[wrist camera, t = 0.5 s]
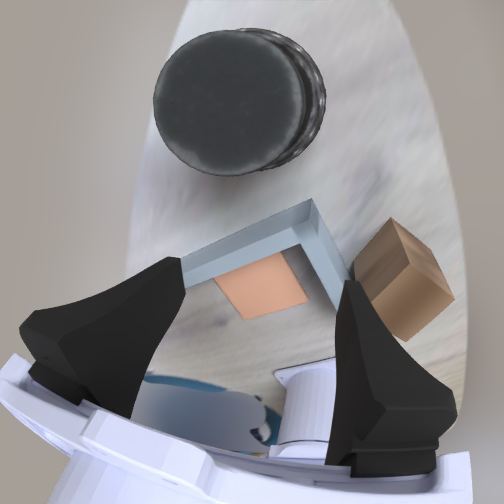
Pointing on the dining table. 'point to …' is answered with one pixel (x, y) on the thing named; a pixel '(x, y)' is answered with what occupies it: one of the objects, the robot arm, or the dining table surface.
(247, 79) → the pill bottle
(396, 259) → the walnut block
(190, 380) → the dining table surface
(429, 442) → the robot arm
